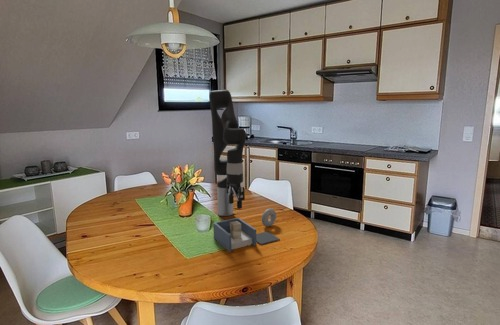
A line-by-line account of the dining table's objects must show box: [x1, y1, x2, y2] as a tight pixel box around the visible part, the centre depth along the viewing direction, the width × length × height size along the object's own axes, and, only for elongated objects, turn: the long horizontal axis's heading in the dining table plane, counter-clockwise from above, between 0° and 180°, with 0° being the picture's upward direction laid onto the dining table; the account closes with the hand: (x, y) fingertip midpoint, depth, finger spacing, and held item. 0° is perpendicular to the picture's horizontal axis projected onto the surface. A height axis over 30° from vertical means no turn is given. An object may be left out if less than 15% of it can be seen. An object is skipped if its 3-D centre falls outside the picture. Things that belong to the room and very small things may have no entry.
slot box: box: [212, 217, 257, 253], centre depth 152 cm, size 18×14×8 cm
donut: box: [261, 208, 277, 228], centre depth 171 cm, size 10×4×10 cm, turn 133°
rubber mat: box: [256, 231, 281, 246], centre depth 156 cm, size 11×11×1 cm
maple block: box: [230, 221, 241, 239], centre depth 150 cm, size 4×4×7 cm
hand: (235, 205), depth 148 cm, fingers open, 8 cm apart
